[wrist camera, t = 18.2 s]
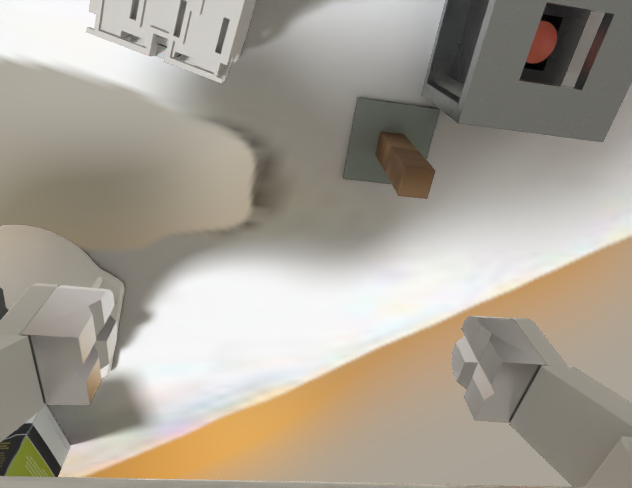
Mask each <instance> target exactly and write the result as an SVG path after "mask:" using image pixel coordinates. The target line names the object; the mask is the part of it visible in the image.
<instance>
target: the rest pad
mask: <svg viewBox="0 0 632 488" xmlns="http://www.w3.org/2000/svg"><path fill="white" fill-rule="evenodd" d="M439 111H440V110H439V109H437V108H429V107H422V106H415V105H408V104H400V103H393V102H386V101H378V100H371V99H364V98H357V104H356V109H355V114H354V120H353V125H352V131H351V136H350V141H349V147H348V152H347V158H346V163H345V168H344V174H343V179H350V180H359V181H368V182H377V183H386V184H391V182H390V180H389V178H388V176H387V175H386V173H385V171H384V169H383V168H382V166H381V164H380V162H379V161H378V159H377V157H376V155H375V154H376V149H377V145H378V140H379V135H380V131H381V132H390V133H398V134H404V135H405V136H406V137H407V138H408V139H409V141H410V142H411V143H412V144H413V145H414V146H415V148H416V149H417V150H418V151H419V152H420V153H421V155H422V156H423V157H424V158H425V159H426V157H427V154H428V150H429V147H430V143H431V139H432V136H433V132H434V129H435V125H436V122H437V118H438V114H439Z"/></svg>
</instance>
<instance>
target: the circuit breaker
mask: <svg viewBox="0 0 632 488" xmlns="http://www.w3.org/2000/svg"><path fill="white" fill-rule="evenodd" d="M256 1H257V0H90V6H89V12H92V13H94V14H96V21H95V29H93V28H90V27H87V30H86V32H87V33H90V34H92V35H95V36H98V37H100V38H103V39H106V40H108V41H111V42H113V43H116V44H119V45H121V46H124V47H127V48H129V49H132V50H135V51H137V52H140V53H142V54H145V55H148V56H157V57H160V58H162V59H164V62H166V63H169V64H171V65H174V66H177V67H179V68H182V69H185V70H187V71H190V72H192V73H195V74H198V75H200V76H203V77H206V78H208V79H211V80H214V81H216V82H219V83H221V84H222V83H223V82H225V80H226V79H227V77H228V75H229V71H230V68H231V64H232V62H236V63H237V61H238V59H239V58H240V56H241V54H242V47H243V44H244V41H245V40H246V36H247V33H248V29H249V26H250V22H251V19H252V15H253V12H254V8H255V5H256Z"/></svg>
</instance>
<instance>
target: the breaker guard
mask: <svg viewBox="0 0 632 488" xmlns="http://www.w3.org/2000/svg"><path fill="white" fill-rule="evenodd" d="M591 11H594V12H600V13H605V15H604V17H603V20H602V22H601V24H600V27H599V29H598V32H597V34H596V36H595V39H594V41H593V44H592V46H591V48H590V51H589V53H588V56H587V58H586V60H585V63H584V65H583V68H582V70H581V72H580V75H579V77H578V80H577V82H576V84H575V87H567V86H561V84H562V81H563V79H564V77H565V74H566V72H567V69H568V67H569V64H570V62H571V59H572V57H573V54H574V52H575V49H576V47H577V44H578V42H579V39H580V37H581V34H582V32H583V29H584V27H585V24H586V22H587V19H588V17H589V14H590V12H591ZM540 21H547V22H549V23H551V24H552V25H553V26H554V27H555V29H556V32H557V42H556V45H555V48H554V50H553V51H552V53H551V54H550V55H549V56H548V57H547V58H546V59H544V60H543V61H541V62H538V63H527V62H526V60H527V57H528V54H529V51H530V48H531V46H532V43H533V40H534V37H535V34H536V32H537V29H538V26H539V23H540ZM631 82H632V0H445V4H444V8H443V12H442V16H441V20H440V24H439V28H438V32H437V36H436V40H435V44H434V48H433V52H432V55H431V59H430V63H429V67H428V71H427V75H426V79H425V83H424V87H423V91H422V96H423V97H424V98H426V99H427V100H428V101H430V102H431V103H432V104H434V105H435V106H436V107H438V108H439V109H440V110H442V111H443V112H444V113H446V114H447V115H448V116H450V117H451V118H452V119H454V120H455V121H456V122H458V123H462V124H470V125H477V126H485V127H492V128H500V129H507V130H515V131H522V132H530V133H537V134H545V135H552V136H560V137H567V138H575V139H582V140H590V141H597V142H603V141H604V139H605V137H606V135H607V132H608V130H609V128H610V126H611V124H612V122H613V120H614V118H615V116H616V114H617V111H618V109H619V107H620V105H621V103H622V101H623V99H624V97H625V95H626V93H627V90H628V88H629V86H630V84H631Z"/></svg>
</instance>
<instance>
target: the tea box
mask: <svg viewBox="0 0 632 488" xmlns="http://www.w3.org/2000/svg"><path fill="white" fill-rule="evenodd" d="M44 406H45V407H44V408H43V409H42V410H40V411H39V412H38V413H37V414H35V415H34V416H33V417H32V418H30V419H29V420H28V421H27V422H25V423H24V424H23V425H22V426H20V427H19V428H18V429H17V430H15V431H14V432H13V433H12V434H10V435H9V436H8V437H7V438H5V439H4V440H3V441H1V442H0V476H24V477H58V475H59V473H60V470H61V468H62V466H63V463H64V461H65V459H66V456H67V454H68V451H69V449H70V444H69V442H68V440H67V438H66V437H65V435H64V433H63V432H62V430H61V428H60V426H59V425H58V423H57V421H56V420H55V418H54V416H53V415H52V413H51V411H50V410H49V408H48V406H47V405H44Z"/></svg>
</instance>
